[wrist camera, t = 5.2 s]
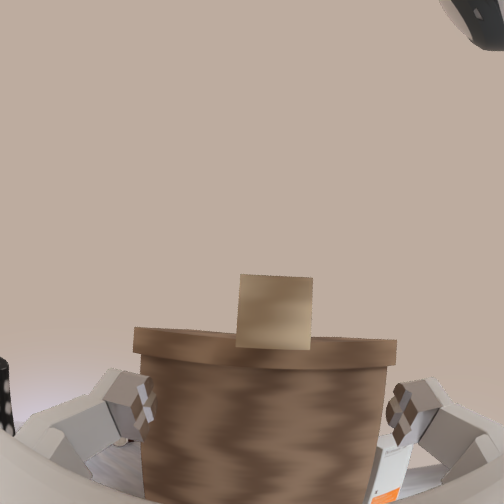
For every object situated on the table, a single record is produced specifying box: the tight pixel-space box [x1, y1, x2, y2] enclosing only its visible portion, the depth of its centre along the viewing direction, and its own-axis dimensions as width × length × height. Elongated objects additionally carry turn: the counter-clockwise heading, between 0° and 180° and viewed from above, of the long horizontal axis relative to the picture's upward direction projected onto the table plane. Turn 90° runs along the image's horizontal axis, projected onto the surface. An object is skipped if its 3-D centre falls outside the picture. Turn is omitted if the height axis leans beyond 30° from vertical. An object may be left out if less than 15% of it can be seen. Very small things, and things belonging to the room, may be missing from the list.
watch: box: [113, 437, 134, 446], centre depth 40 cm, size 8×5×4 cm, turn 133°
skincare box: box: [362, 433, 413, 504], centre depth 24 cm, size 6×4×12 cm
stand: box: [133, 327, 397, 504], centre depth 24 cm, size 20×18×26 cm
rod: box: [236, 274, 313, 350], centre depth 21 cm, size 3×20×3 cm, turn 178°
